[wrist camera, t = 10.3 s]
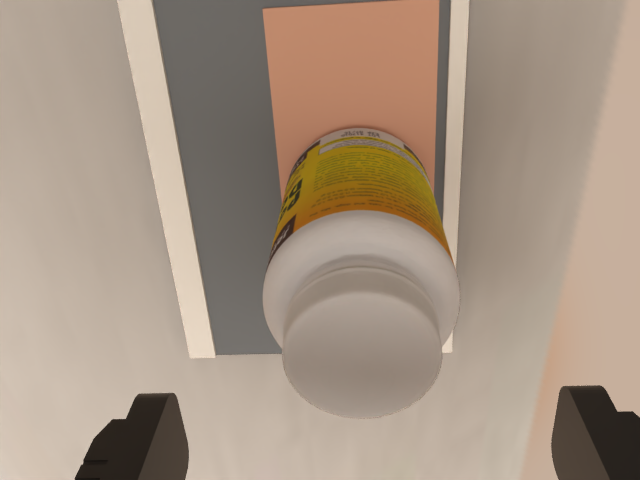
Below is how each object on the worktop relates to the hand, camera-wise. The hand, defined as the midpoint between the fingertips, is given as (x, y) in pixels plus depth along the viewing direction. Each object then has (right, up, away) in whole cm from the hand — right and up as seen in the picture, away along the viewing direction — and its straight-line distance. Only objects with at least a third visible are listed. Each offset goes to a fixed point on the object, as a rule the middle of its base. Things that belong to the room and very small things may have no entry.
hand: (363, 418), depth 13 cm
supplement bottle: (+1, +6, +11) cm, 13 cm away
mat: (-1, +6, +12) cm, 13 cm away
